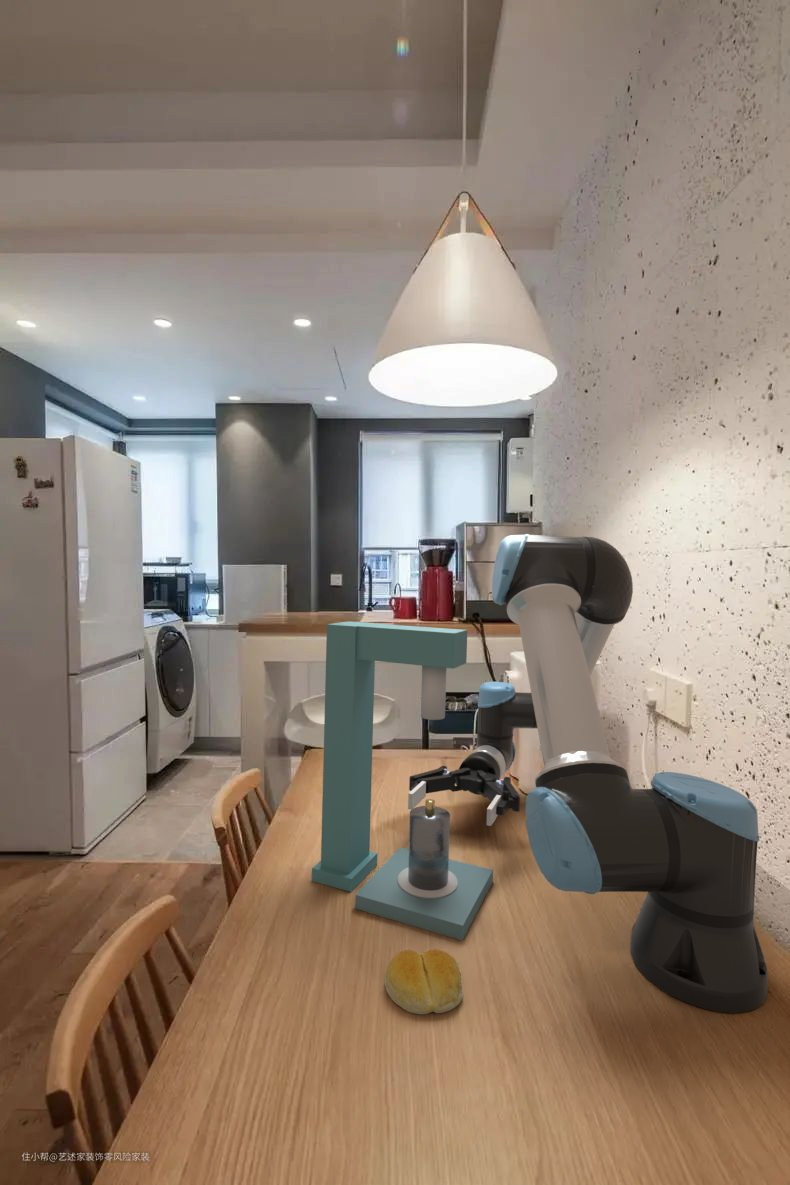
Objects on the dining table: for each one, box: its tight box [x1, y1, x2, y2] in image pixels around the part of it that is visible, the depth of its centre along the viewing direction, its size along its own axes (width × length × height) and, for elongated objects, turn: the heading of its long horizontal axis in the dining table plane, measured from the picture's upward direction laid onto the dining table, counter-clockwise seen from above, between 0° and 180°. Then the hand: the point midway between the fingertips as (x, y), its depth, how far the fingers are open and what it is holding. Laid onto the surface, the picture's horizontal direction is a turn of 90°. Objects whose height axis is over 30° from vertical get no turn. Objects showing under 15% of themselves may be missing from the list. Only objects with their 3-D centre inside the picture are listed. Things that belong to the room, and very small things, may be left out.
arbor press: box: [311, 621, 494, 941], centre depth 87 cm, size 26×16×40 cm, turn 66°
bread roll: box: [384, 948, 464, 1015], centre depth 66 cm, size 8×9×4 cm
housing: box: [408, 798, 451, 891], centre depth 86 cm, size 6×6×12 cm
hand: (448, 809), depth 94 cm, fingers open, 13 cm apart
